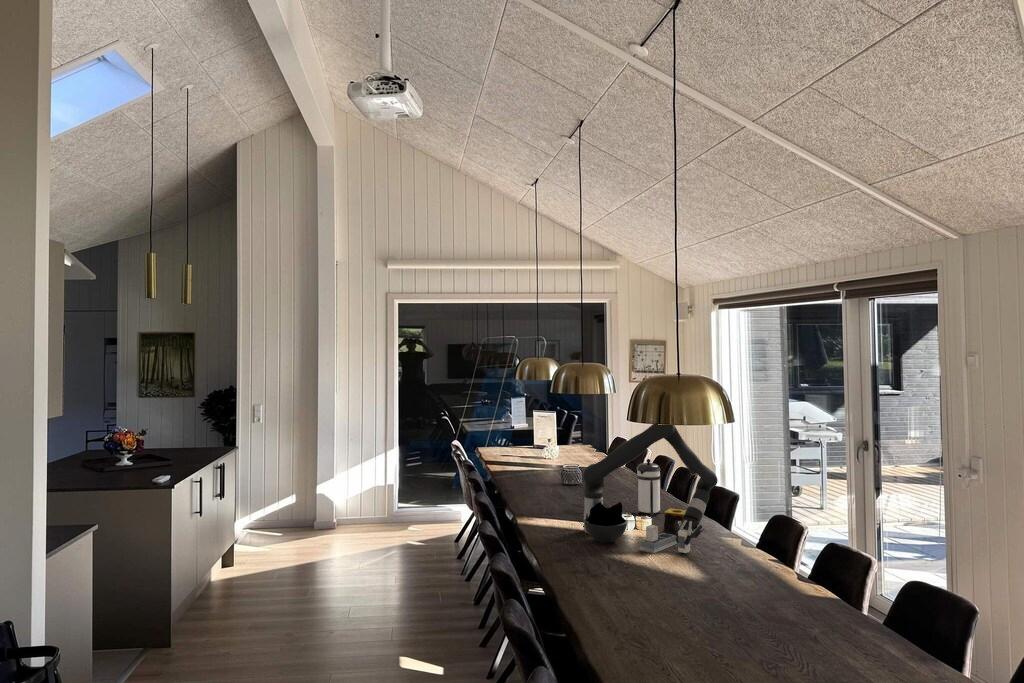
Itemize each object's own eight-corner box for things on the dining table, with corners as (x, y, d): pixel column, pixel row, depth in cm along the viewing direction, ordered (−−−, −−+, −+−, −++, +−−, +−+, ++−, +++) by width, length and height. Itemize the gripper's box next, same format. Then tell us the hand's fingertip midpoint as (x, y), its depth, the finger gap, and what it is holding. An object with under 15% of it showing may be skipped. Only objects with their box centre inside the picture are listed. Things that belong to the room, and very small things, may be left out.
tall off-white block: (684, 553, 303) (684, 532, 303) (677, 551, 305) (677, 531, 305) (690, 551, 306) (690, 530, 306) (682, 549, 308) (682, 529, 309)
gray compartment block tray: (653, 553, 306) (653, 529, 306) (639, 550, 311) (639, 526, 311) (677, 543, 320) (677, 521, 320) (663, 541, 325) (663, 518, 325)
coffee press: (667, 516, 372) (666, 461, 372) (637, 516, 372) (637, 461, 372) (660, 509, 389) (660, 456, 389) (632, 509, 389) (632, 456, 390)
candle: (663, 532, 340) (663, 512, 341) (668, 527, 349) (668, 508, 350) (684, 535, 336) (683, 514, 336) (689, 530, 345) (688, 510, 345)
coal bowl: (577, 544, 320) (577, 504, 320) (593, 534, 337) (593, 495, 337) (619, 550, 310) (618, 508, 310) (632, 539, 328) (632, 499, 328)
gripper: (678, 503, 316) (664, 535, 307) (706, 508, 306) (693, 541, 297) (684, 513, 320) (670, 544, 311) (712, 518, 310) (699, 551, 301)
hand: (681, 543), depth 304 cm, fingers closed on tall off-white block, 3 cm apart
